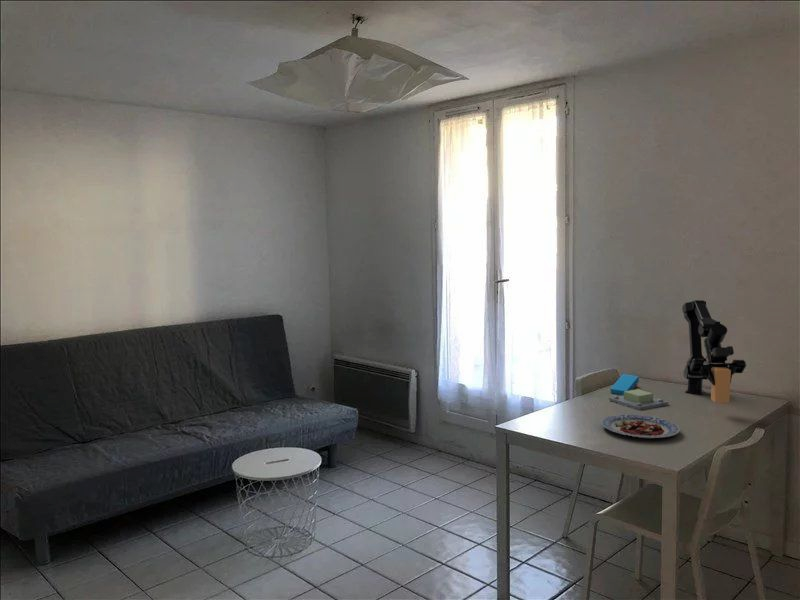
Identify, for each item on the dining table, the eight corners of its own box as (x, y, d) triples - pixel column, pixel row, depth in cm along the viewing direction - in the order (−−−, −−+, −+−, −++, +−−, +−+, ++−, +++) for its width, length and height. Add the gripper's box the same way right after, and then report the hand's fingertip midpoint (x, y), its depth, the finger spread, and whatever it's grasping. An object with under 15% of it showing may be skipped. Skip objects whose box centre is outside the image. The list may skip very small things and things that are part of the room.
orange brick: (710, 399, 246) (712, 367, 245) (724, 399, 246) (726, 367, 244) (714, 402, 242) (716, 370, 240) (729, 403, 241) (730, 370, 239)
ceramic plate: (695, 435, 222) (696, 426, 222) (644, 448, 209) (645, 439, 209) (635, 416, 244) (635, 408, 244) (585, 427, 232) (586, 419, 231)
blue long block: (627, 405, 275) (642, 386, 287) (626, 391, 272) (641, 372, 285) (611, 403, 279) (627, 384, 291) (610, 388, 277) (626, 370, 289)
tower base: (637, 395, 273) (637, 385, 272) (668, 404, 258) (668, 394, 258) (609, 400, 266) (609, 390, 265) (639, 410, 251) (639, 399, 251)
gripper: (693, 338, 246) (700, 372, 237) (745, 338, 243) (755, 374, 234) (686, 354, 255) (693, 388, 245) (737, 355, 252) (746, 390, 242)
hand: (721, 384), depth 242 cm, fingers closed on orange brick, 5 cm apart
